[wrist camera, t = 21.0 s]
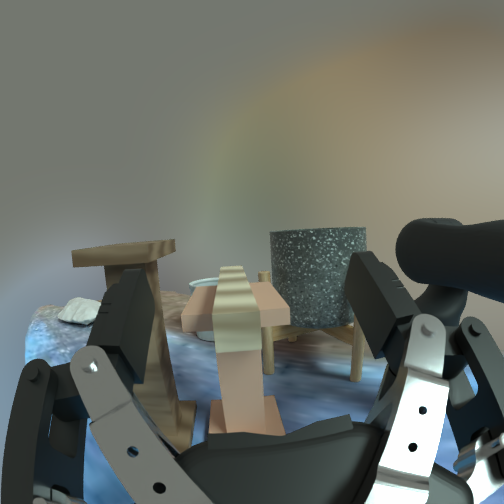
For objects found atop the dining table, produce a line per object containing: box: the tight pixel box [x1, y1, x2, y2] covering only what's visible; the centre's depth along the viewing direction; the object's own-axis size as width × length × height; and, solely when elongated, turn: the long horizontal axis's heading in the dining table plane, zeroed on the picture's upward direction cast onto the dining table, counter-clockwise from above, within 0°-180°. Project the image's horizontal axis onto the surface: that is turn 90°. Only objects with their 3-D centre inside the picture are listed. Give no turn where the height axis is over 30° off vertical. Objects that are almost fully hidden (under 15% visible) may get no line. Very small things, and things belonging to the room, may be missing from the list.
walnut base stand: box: [72, 239, 197, 453], centre depth 37 cm, size 16×10×32 cm, turn 5°
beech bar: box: [212, 266, 262, 353], centre depth 32 cm, size 26×3×3 cm, turn 5°
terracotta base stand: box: [181, 281, 290, 436], centre depth 39 cm, size 16×12×24 cm
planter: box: [258, 227, 367, 382], centre depth 64 cm, size 22×22×32 cm
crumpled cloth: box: [58, 297, 101, 325], centre depth 100 cm, size 24×35×9 cm
